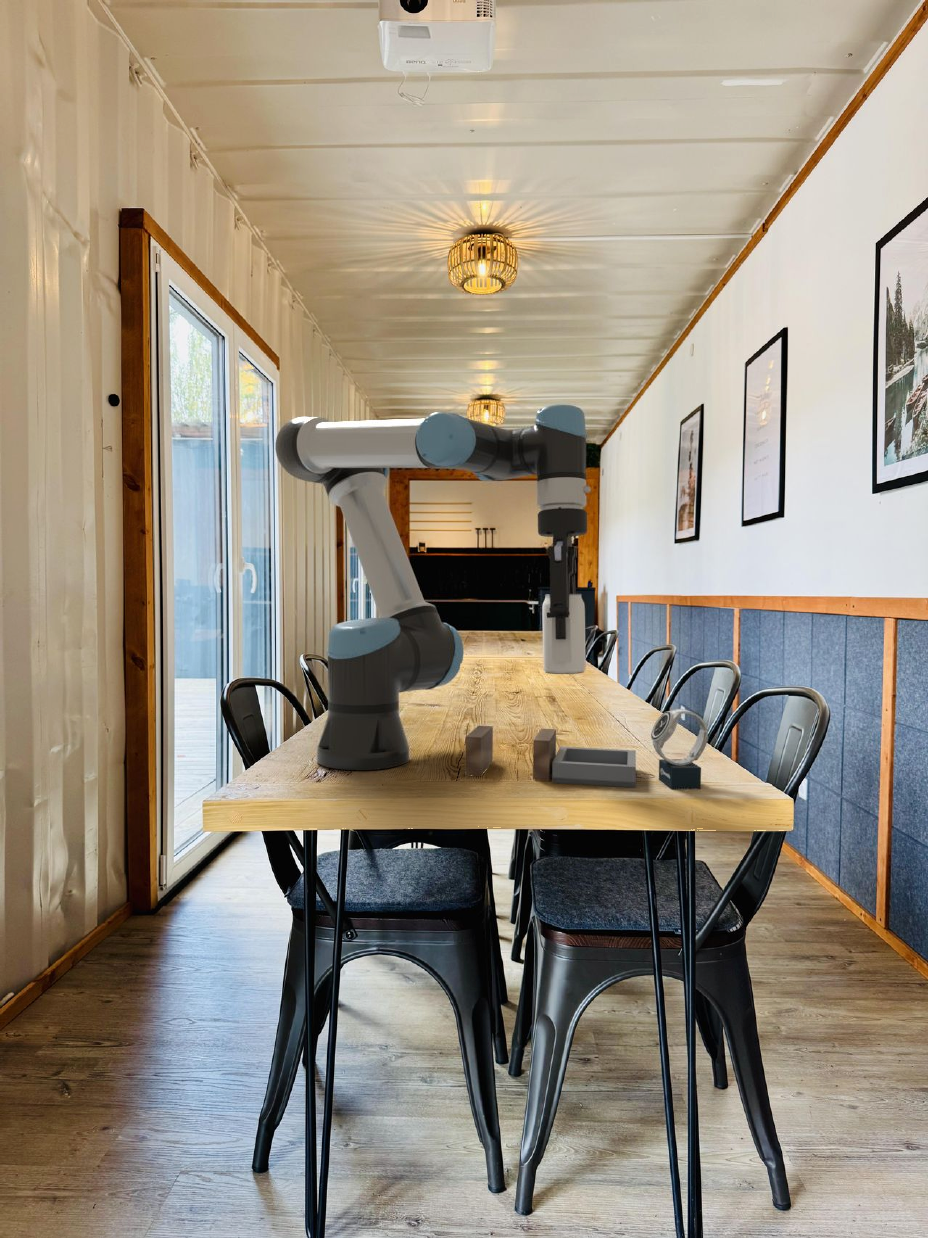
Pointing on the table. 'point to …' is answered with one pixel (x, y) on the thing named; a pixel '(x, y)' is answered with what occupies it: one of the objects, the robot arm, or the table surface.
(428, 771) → the table surface
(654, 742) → the watch
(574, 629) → the can
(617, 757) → the tray
